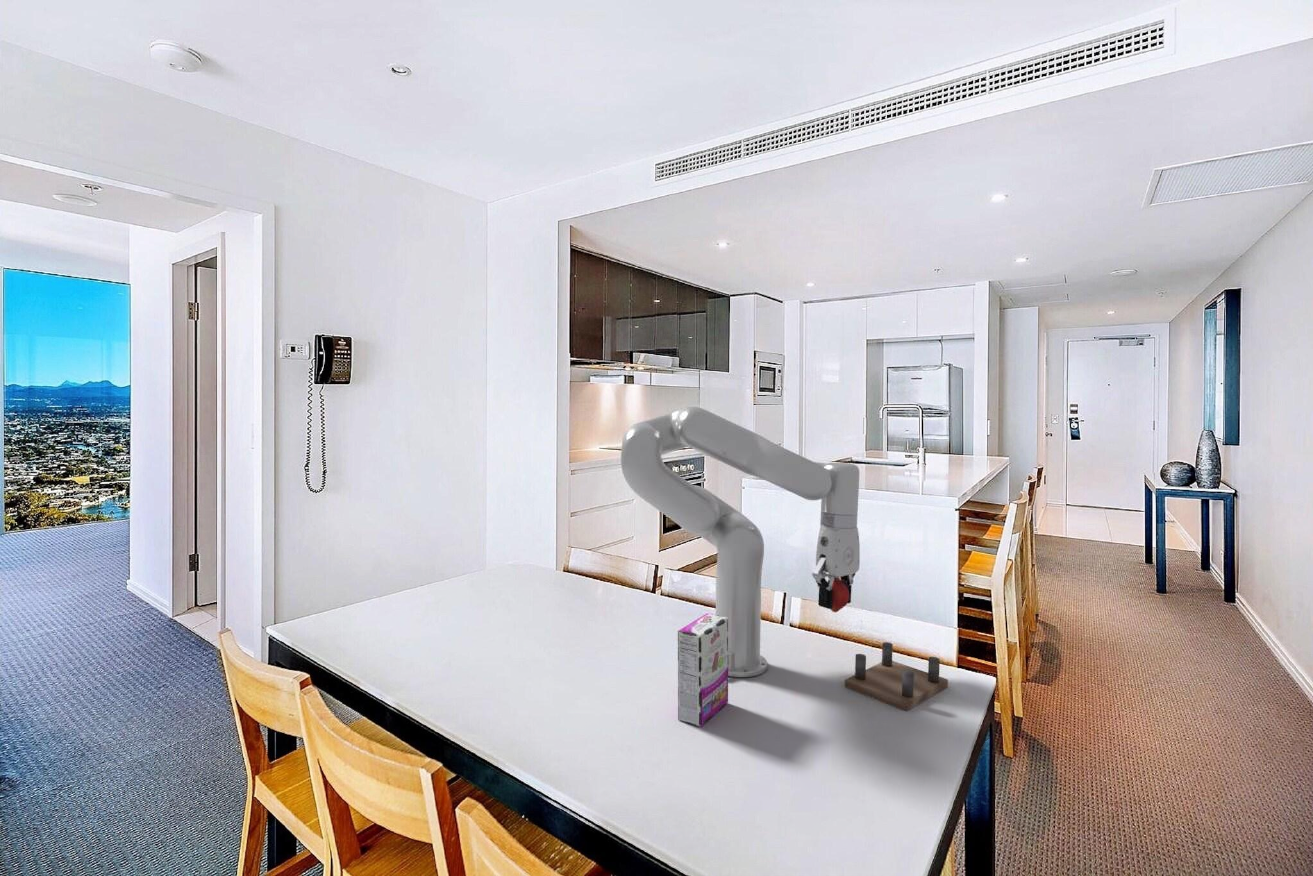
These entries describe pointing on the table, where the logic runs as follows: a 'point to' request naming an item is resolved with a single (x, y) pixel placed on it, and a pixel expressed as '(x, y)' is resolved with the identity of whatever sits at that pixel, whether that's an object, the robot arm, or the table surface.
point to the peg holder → (896, 680)
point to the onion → (839, 595)
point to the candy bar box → (702, 669)
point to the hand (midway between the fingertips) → (834, 603)
